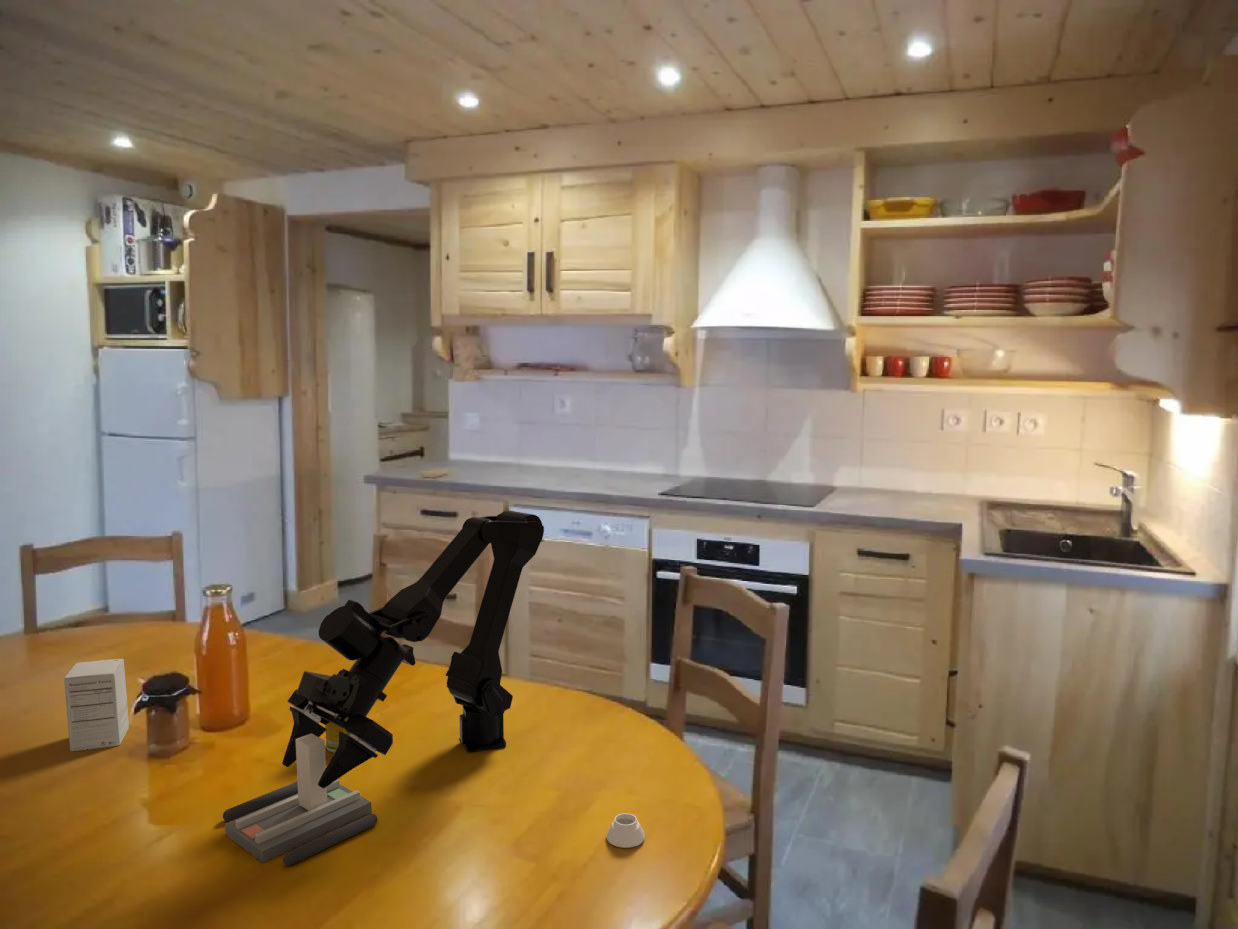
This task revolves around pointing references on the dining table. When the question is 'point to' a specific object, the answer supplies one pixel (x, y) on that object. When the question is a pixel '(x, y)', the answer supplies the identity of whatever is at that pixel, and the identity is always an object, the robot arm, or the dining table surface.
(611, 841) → the lidless jar
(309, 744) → the handle
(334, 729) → the supplement bottle
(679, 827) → the dining table surface
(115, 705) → the supplement box
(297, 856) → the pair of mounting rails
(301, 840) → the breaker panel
